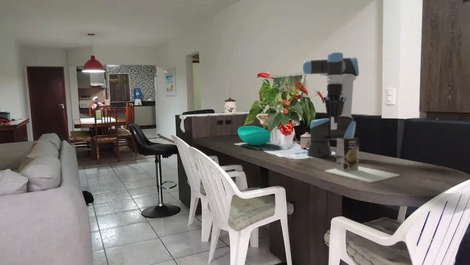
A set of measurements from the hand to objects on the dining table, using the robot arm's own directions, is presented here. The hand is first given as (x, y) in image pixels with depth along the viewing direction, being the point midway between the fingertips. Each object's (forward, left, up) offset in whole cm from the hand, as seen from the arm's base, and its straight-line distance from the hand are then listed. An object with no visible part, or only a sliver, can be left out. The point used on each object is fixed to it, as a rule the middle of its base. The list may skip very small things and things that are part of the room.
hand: (333, 129), depth 171 cm
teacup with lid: (-54, +36, -21) cm, 68 cm away
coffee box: (+9, 0, -20) cm, 22 cm away
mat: (+17, 0, -20) cm, 27 cm away
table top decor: (-89, +16, -21) cm, 93 cm away
